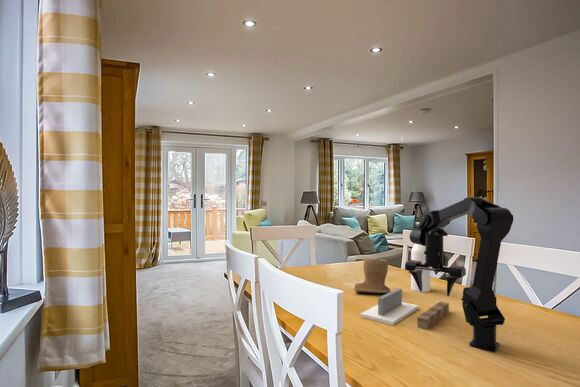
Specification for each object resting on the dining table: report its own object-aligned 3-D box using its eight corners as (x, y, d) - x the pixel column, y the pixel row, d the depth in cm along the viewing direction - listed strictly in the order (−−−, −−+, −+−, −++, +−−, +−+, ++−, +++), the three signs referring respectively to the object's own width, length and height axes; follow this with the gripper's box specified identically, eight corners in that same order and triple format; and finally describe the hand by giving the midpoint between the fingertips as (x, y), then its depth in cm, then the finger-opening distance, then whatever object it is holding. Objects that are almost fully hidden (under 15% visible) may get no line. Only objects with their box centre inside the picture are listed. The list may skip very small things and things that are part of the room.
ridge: (393, 325, 114) (393, 304, 114) (360, 316, 122) (360, 296, 122) (418, 308, 130) (418, 289, 130) (388, 302, 138) (388, 284, 138)
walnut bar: (426, 330, 111) (426, 319, 111) (417, 328, 112) (417, 317, 112) (448, 312, 127) (448, 303, 127) (440, 310, 129) (440, 301, 129)
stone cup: (388, 288, 157) (388, 255, 157) (391, 296, 146) (391, 260, 146) (354, 287, 160) (354, 254, 160) (354, 294, 149) (354, 259, 149)
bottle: (431, 292, 151) (431, 223, 151) (411, 291, 153) (411, 223, 153) (429, 287, 159) (429, 222, 159) (410, 286, 161) (410, 221, 161)
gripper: (470, 247, 120) (470, 293, 120) (416, 243, 132) (416, 284, 132) (460, 252, 111) (461, 301, 111) (404, 246, 124) (404, 290, 123)
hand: (434, 293), depth 120 cm, fingers open, 9 cm apart
